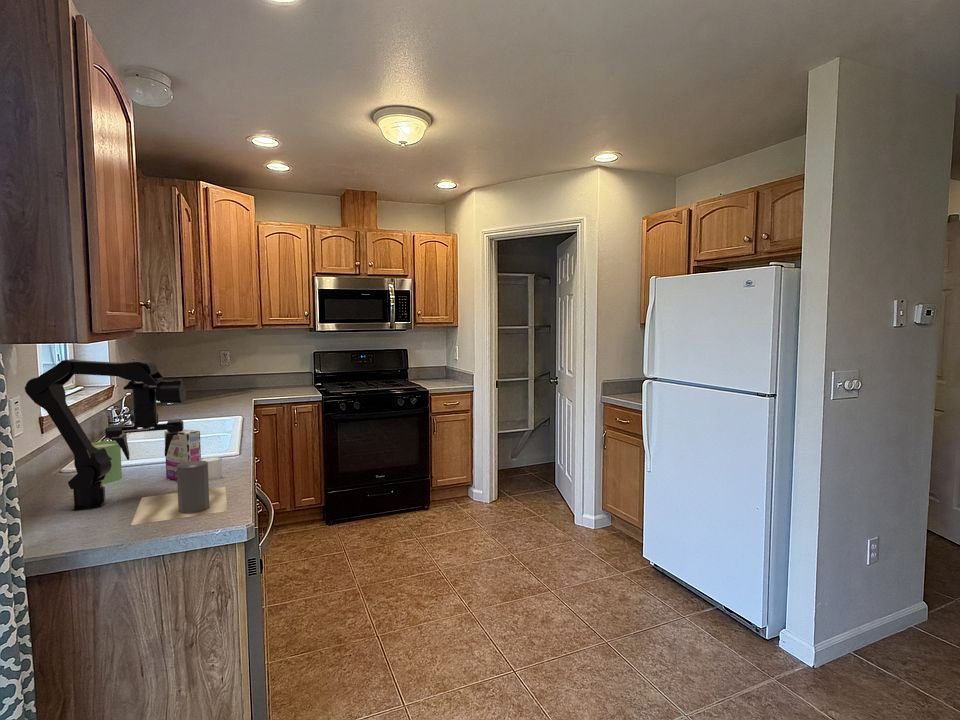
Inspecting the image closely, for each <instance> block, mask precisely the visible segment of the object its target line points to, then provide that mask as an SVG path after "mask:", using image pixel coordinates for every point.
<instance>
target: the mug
mask: <svg viewBox="0 0 960 720" xmlns="http://www.w3.org/2000/svg"><path fill="white" fill-rule="evenodd" d="M91 444H92V445H93V446H94V447H95V448H97V449H98V450H100V449H102V448H105V450H106V452H107V454H108V456H109V457H110V458H111V459H112V460H110V461H111V464H112V467H111V469H110V471H109V472H108V473H107V474H106V475H105V478H104V480H101V481H102V485H104V484H109V483H113V482H117V481H119V480H121V479H122V478H123V472H122V471H123V470H122V451H121V450H122V449H121V447H120V446H119V445H118V443H117V442H116V441H115V440H105V441H104V440H103V441H95V442H91ZM103 483H104V484H103Z"/></svg>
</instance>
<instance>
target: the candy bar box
mask: <svg viewBox="0 0 960 720" xmlns="http://www.w3.org/2000/svg"><path fill="white" fill-rule="evenodd" d="M163 431H164V432H163V433H164V443H165V442H166V433H167V430H163ZM201 452H202V451H201V431H200V430H194V429H193V430H192V429H183V431H182V432H178V435H174V436H173V438H172V441H171V443H170V446H169V449H168V453H167V456H165V475H166V478H165V479H166V480H168V479H169V481H175V480H176V481H175V482H177V465H178V464H180V463H184V462H189V461H199V460H200V459H202V456H201V455H202V454H201Z"/></svg>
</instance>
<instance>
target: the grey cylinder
mask: <svg viewBox="0 0 960 720" xmlns="http://www.w3.org/2000/svg"><path fill="white" fill-rule="evenodd" d="M176 482H177V484H176V485H177V493H178V509H179V513H182V514H192V513H198V512H202V511H205V510H207V509H208V508H209V489H210V486H209V482H210V481H209V480H208V462H207V461H189V462H184V463H180V464H178V465H177V481H176Z"/></svg>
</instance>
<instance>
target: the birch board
mask: <svg viewBox="0 0 960 720" xmlns="http://www.w3.org/2000/svg"><path fill="white" fill-rule="evenodd" d="M226 491H227V490H226V486H220V487H212V488H209V508H208V509H207V510H205V511H202V512H198V513H192V514H182V513H179V509H178V492H175V493H165V494H159V495H152V496H149V495H148V496H144V497H141V499H140V501H139V504H138V506H137V509H136V511H135V512H134V513H135V514H134V516H133V519H132V521H131V523H130V526H136V525H142V524H143V525H144V524H149V523H156V522H163V521H169V520H177V519H183V518H188V517H189V518H190V517H197V516H204V515H205V516H206V515H210V514H211V515H212V514H217V513H223V512H228V503H227V501H228V500H227V492H226Z"/></svg>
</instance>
